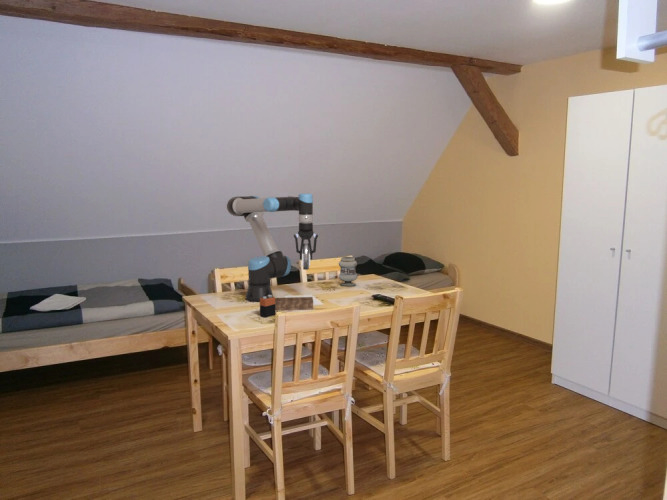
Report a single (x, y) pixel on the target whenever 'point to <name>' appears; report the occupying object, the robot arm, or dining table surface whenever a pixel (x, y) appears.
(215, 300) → the dining table surface
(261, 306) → the battery
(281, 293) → the dining table surface
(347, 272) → the apothecary jar
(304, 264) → the pin
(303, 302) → the hole block
